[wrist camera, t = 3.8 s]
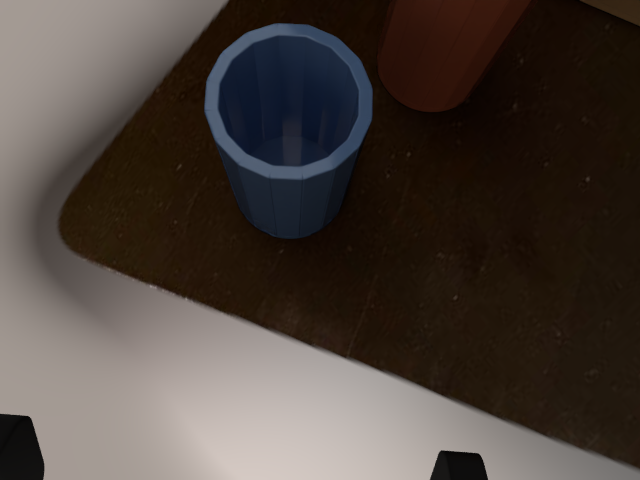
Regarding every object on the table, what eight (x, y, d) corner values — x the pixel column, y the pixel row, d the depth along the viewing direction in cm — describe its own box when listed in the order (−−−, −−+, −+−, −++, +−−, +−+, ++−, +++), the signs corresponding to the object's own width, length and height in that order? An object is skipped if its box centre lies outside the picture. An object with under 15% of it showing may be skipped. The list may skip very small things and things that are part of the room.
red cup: (359, 86, 31) (391, -40, 21) (400, 0, 32) (448, -158, 22) (458, 129, 30) (537, 22, 21) (495, 41, 32) (587, -100, 22)
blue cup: (214, 210, 29) (175, 136, 19) (263, 114, 30) (249, -2, 20) (318, 257, 29) (331, 206, 19) (363, 158, 30) (398, 62, 20)
